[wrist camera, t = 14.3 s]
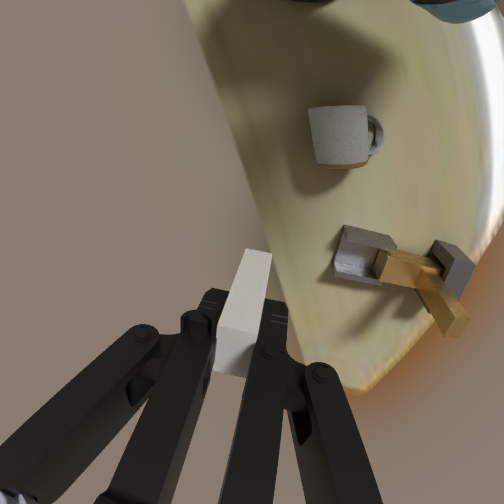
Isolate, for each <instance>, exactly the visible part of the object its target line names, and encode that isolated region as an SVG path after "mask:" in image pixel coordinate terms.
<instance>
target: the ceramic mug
mask: <svg viewBox="0 0 504 504" xmlns="http://www.w3.org/2000/svg"><path fill="white" fill-rule="evenodd" d="M308 116H309V122H310V128H311V134H312V140H313V147H314V154H315V158H316V161H317V163H318V164H319V165H320V166H321V167H323V168H326V169H353V168H359V167H362V166H364V165H365V164H366V163H367V162H368V157H369V155H371V154H374V153H376V152H378V151H379V150H380V148H381V147H382V145H383V141H384V128H383V125H382V123H381V121H380V120H379V119H378V118H377V117H376V116H374V115H372V114H370V113H367V108H366V106H365V105H341V106H322V107H313V108H308ZM367 117H368V118H370V119H371V120H372V121H373V122H374V125H375V144H374V145H373V147H372V148H371V149H369V141H368V120H367Z"/></svg>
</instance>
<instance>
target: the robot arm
mask: <svg viewBox="0 0 504 504" xmlns="http://www.w3.org/2000/svg"><path fill="white" fill-rule="evenodd" d="M292 1H299V2H319V1H324V0H292ZM410 1H411V2H412V3H414V4H415V5H417V6H420V7H422V8H423V9H425V10H426V11H428V12H429V13H431V14H432V15H433V16H435V17H436V18H438V19H439V20H441V21H444V22H449V23H452V24H459V23H465V22H469V21H472V20H475V19H477V18H479V17H481V16H483V15H485V14H486V13H488V12H490V11H491V10H492V9H494V8H495V7H496V3H498V2H500V1H502V0H410ZM271 259H272V254H271V253H266V252H262V251H257V250H252V249H247V248H246V250H245V252H244V255H243V258H242V260H241V263H240V266H239V268H238V271H237V274H236V276H235V279H234V282H233V285H232V287H231V290H230V292H229V291H224V290H220V289H215V288H211V289H210V290H209V291H207V292H206V293H205V294H204V296H203V298H202V301H201V302H200V304H199V307H198V308H197V310H191V311H187V312H186V313H184V314H183V315H182V316H181V333H179V334H173V335H163V334H159V333H158V330H157V329H156V328H154V327H153V326H150V325H146V324H140V325H136V326H133V327H132V328H130V329H129V330H128V331H127V332H125V333H124V334H123V335H122V336H121V337H120V338H119V339H117V340H116V341H115V342H114V343H113V344H112V345H110V346H109V347H108V348H107V349H106V350H105V351H104V352H103V353H101V354H100V355H99V356H98V357H97V358H96V359H95V360H93V361H92V362H91V363H90V364H89V365H88V366H87V367H86V368H84V369H83V370H82V371H81V372H80V373H79V374H78V375H77V376H75V377H74V378H73V379H72V380H71V381H70V382H69V383H68V384H66V385H65V386H64V387H63V388H62V389H61V390H60V391H59V392H58V393H57V394H55V395H54V396H53V397H52V398H51V399H50V400H49V401H48V402H47V403H46V404H44V406H42V407H41V408H40V409H39V410H38V411H37V412H36V413H35V414H34V415H32V416H31V417H30V418H29V419H28V420H27V421H26V422H25V423H24V424H23V425H22V426H21V427H20V428H19V429H18V430H16V432H14V433H13V434H12V435H11V436H10V437H9V438H8V439H7V440H6V441H5V442H4V443H3V444H2V445H1V446H0V504H52V503H53V502H55V501H56V500H57V499H58V498H59V497H60V496H61V495H62V494H63V493H64V492H65V491H66V490H67V489H68V488H69V487H70V486H71V485H72V484H73V483H74V481H75V480H76V479H77V478H78V477H79V476H80V475H81V474H82V473H83V472H84V471H85V469H86V468H87V467H88V466H89V465H90V464H91V462H93V461H94V459H95V458H96V457H97V456H98V455H99V454H100V453H101V452H102V450H103V449H104V448H105V447H106V446H107V445H108V444H109V442H110V441H111V440H112V439H113V438H114V437H115V436H116V435H117V434H118V432H119V431H120V430H121V429H122V428H123V427H124V425H126V423H127V422H128V421H129V420H130V419H131V418H132V417H133V415H134V414H135V413H136V412H137V411H138V410H139V409H140V407H141V406H142V405H143V404H144V403H145V402H146V400H147V399H148V398H149V399H148V401H147V403H146V405H145V407H144V409H143V412H142V414H141V416H140V418H139V420H138V423H137V425H136V427H135V429H134V431H133V434H132V435H131V438H130V440H129V442H128V444H127V447H126V449H125V451H124V453H123V455H122V458H121V460H120V462H119V464H118V467H117V469H116V471H115V474H114V476H113V478H112V481H111V483H110V485H109V487H108V489H107V490H106V491H105V492H103V493H102V494H100V495H99V496H98V498H97V499H96V500H95V502H94V504H171V501H172V498H173V495H174V492H175V489H176V486H177V483H178V479H179V477H180V473H181V470H182V467H183V464H184V461H185V458H186V454H187V451H188V448H189V445H190V442H191V439H192V436H193V433H194V429H195V426H196V423H197V420H198V417H199V414H200V410H201V407H202V404H203V401H204V398H205V395H206V392H207V388H208V386H209V383H210V376H211V371H212V368H213V371H217V372H221V373H225V374H229V375H234V376H239V377H243V378H246V383H245V387H244V391H243V395H242V400H241V405H240V410H239V414H238V419H237V424H236V428H235V432H234V437H233V441H232V446H231V450H230V454H229V459H228V463H227V467H226V472H225V476H224V480H223V484H222V488H221V493H220V497H219V501H218V504H273V497H274V490H275V482H276V474H277V466H278V457H279V449H280V440H281V431H282V421H283V410H284V409H286V410H287V413H288V418H289V423H290V428H291V432H292V438H293V443H294V447H295V452H296V457H297V461H298V467H299V471H300V476H301V481H302V486H303V491H304V496H305V500H306V504H383V502H382V499H381V496H380V493H379V489H378V486H377V484H376V480H375V478H374V474H373V471H372V468H371V466H370V463H369V459H368V456H367V453H366V451H365V448H364V445H363V442H362V439H361V436H360V434H359V431H358V428H357V425H356V422H355V419H354V417H353V414H352V411H351V409H350V406H349V403H348V400H347V398H346V395H345V392H344V390H343V387H342V384H341V382H340V379H339V376H338V374H337V372H336V371H335V369H334V368H333V367H331V366H330V365H328V364H326V363H322V362H315V363H311V364H310V365H308V366H306V365H303V364H301V363H299V362H297V361H295V360H294V359H293V358H291V357H290V355H289V354H288V352H287V350H286V340H287V324H288V308H287V306H286V304H285V302H280V301H275V300H270V299H266V298H265V293H266V287H267V282H268V276H269V270H270V265H271Z"/></svg>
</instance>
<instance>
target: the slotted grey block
mask: <svg viewBox="0 0 504 504" xmlns="http://www.w3.org/2000/svg"><path fill="white" fill-rule="evenodd" d="M429 258H431V259H435V260H439V261H441V263H442V264H443V265H444V266H445V267H446V269H445V271H444V274H443V276H442V280H443V281H444V282H445V284H446V285H447V286H448V288H449V289H450V291H451V292H452V293H453V295H454V296H455V298H456V299H457V300H459V298H460V296H461V295H462V292H463V291H464V289H465V287H466V285H467V282H468V281H469V279H470V276H471V274H472V272H473V270H474V268H475V266H476V265H475V264H474V263H473V262H472V261H471V260H470V259H469V258H468V257H467V256H466V255H465V254H464V253H463V252H462V251H461V250H460V249H459V248H458V247H457V246H456V245H452V244H449V243H446V242H443V241H439V240H436V241H435V243H434V246H433V248H432V251H431V253H430V256H429ZM415 290H416V292H417V294H418V296H419V297H420V299H421V301H422V303H423V304H424V306H425V308H426V310H427V312H428V313H430V314H431V312H430V310H429V309H428V307H427V305H426V303H425V302H424V300H423V298H422V296H421V295H420V293H419V291H418V290H417V289H416V288H415Z"/></svg>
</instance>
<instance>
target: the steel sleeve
mask: <svg viewBox="0 0 504 504" xmlns="http://www.w3.org/2000/svg"><path fill="white" fill-rule="evenodd" d="M380 249H383V250H388V251H392V252H395V251H396V249H397V245H396V244H395V242H394V241H393V240H392V238H391V237H390V236H389V235H385V234H381V233H377V232H373V231H369V230H365V229H360V228H356V227H352V226H348V225H344V226H343V229H342V233H341V236H340V239H339V243H338V246H337V249H336V252H335V256H334V259H333V262H332V268H333V272H334V276H335V277H337V278H342V279H348V280H353V281H358V282H363V283H368V284H373V285H378V286H382V284H383V282H380V281H378V278H377V276H376V274H375V272H374V270H373V266H374V264H375V261H376V258H377V256H378V253H379V250H380Z"/></svg>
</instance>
